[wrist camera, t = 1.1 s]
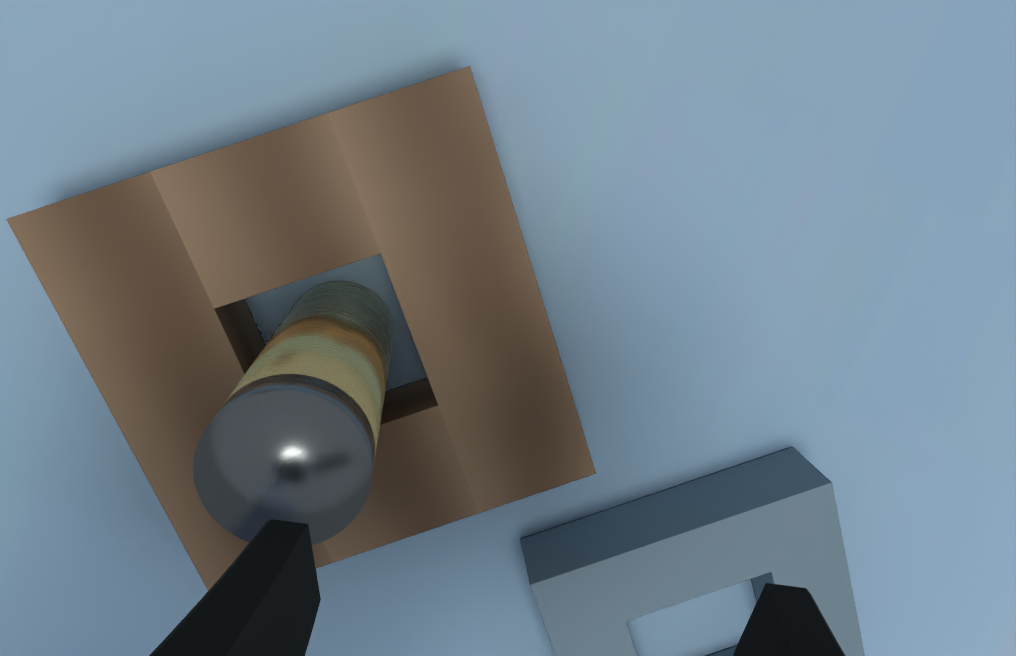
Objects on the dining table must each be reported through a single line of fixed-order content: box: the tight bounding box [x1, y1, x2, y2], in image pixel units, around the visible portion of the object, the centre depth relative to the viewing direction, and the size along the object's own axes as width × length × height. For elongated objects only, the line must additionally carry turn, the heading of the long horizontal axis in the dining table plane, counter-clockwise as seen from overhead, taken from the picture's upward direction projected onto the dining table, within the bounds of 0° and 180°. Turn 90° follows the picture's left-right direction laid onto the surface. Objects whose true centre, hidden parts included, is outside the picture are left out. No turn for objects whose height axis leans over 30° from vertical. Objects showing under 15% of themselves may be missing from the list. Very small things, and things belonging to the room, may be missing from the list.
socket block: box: [6, 66, 596, 591], centre depth 20 cm, size 12×12×2 cm
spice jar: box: [193, 281, 394, 545], centre depth 17 cm, size 3×3×9 cm
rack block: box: [520, 447, 865, 656], centre depth 25 cm, size 10×10×2 cm
